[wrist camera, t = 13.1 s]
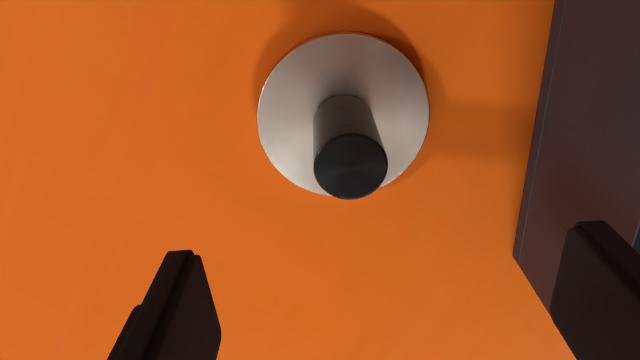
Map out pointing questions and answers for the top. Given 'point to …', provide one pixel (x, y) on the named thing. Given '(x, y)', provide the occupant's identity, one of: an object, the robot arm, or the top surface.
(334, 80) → the pot lid
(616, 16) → the dark grey open box
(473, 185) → the top surface
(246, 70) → the top surface
